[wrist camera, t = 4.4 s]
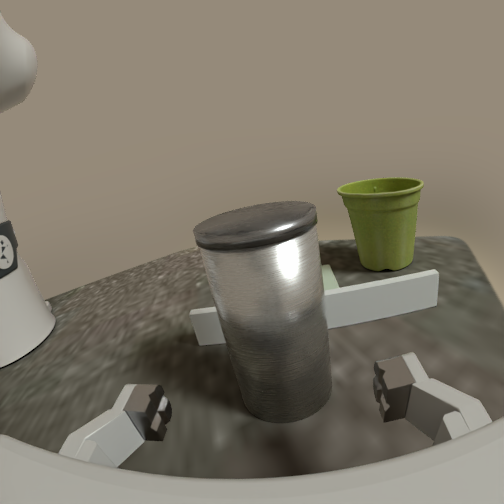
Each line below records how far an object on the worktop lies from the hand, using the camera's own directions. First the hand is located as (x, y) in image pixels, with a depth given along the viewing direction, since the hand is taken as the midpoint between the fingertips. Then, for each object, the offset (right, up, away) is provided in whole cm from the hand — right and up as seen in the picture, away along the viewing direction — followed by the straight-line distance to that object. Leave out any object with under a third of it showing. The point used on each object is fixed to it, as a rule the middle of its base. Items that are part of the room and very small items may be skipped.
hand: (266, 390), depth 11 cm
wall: (+5, -1, +13) cm, 14 cm away
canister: (+2, -3, +7) cm, 8 cm away
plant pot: (+14, +4, +22) cm, 27 cm away
